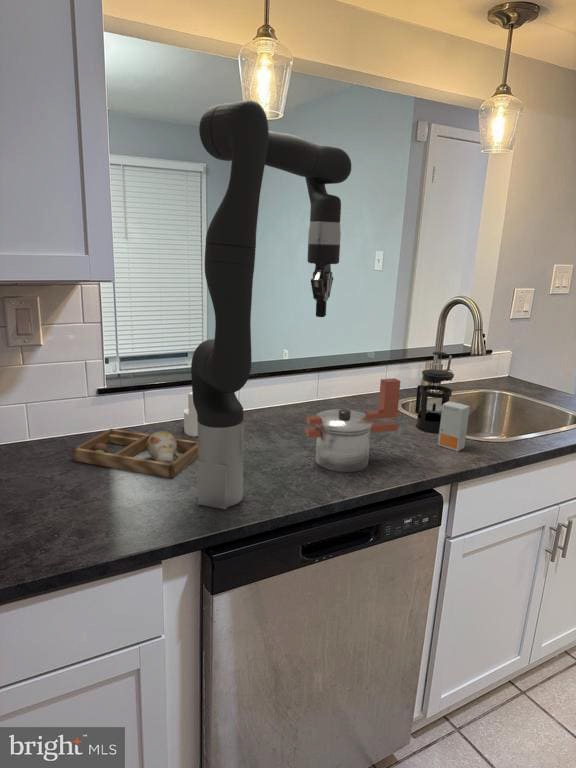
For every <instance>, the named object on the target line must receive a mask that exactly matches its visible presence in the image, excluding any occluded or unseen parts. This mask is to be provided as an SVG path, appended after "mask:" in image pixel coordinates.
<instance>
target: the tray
mask: <svg viewBox="0 0 576 768" xmlns="http://www.w3.org/2000/svg"><path fill="white" fill-rule="evenodd" d="M151 435H152V434H149V433H143V432H136V431H130V430H129V431H128V430H121V429H115V428H109V429H107V430H105V431H103V432H102V433H100V434H98V435H97V436H95V437H93V438H90V439H89V440H87V441H85V442H83V443H81V444H79V445H77V446H75V447H74V448H72V459H73V461H74V462H79V463H83V464H84V463H86V464H89V465H90V464H91V465H96V466H103V467H107V468H114V469H118V470H125V471H130V472H135V473H141V474H146V475H147V474H148V475H153V476H159V477H163V478H169V479H175V477H176V476H177V475H179V474H180V473H181V472H182V471H184V470H185V469H186V468H187V467H188V466H190V465H192V463H194V462H195V461H196V460H198V441H194V440H188V439H187V440H186V439H182V438H181V439H180V438H176V437H174V438H175V440H176V443H177V448H176V450H177V453H179V452H180V453H183V454H181V455H179V456H180V457H179V458H176V459H174V462H172V463H171V464H170V463H164V462H158V461H156V460H151V459H145V458H139V457H135V456H137V455H139V454H140V453H142V452H144V451H145V450H147V440H148V438H149V437H150V436H151ZM98 443H103V444H105V445H106V446H107V445H108V444H112V443H114V445H119V444H120V445H121V446H125V447H124V448H122V449H120V450H119V451H117V452H115V453H110V452H106V453H105V452H99V451H94V446H95V445H96V444H98Z"/></svg>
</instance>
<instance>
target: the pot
mask: <svg viewBox="0 0 576 768" xmlns="http://www.w3.org/2000/svg"><path fill="white" fill-rule="evenodd" d="M398 428H399V425H398V423H396V422H395V421H393V420H389V421H375V422H374V421H373V426H372V427H371V428H370V429H368V430H365V431H361V432H337V431H332V430H328V429H325V428H322V427H320V426H319V425H316V426H311V427H310V426H309V427H305V428H304V434H305V436H306V437H307V438H308V439H312V438H314V439H315V438H316V444H315V445H316V448H315V450H316V451H315V461H316V463H317V465H318V466H320V467H322V468H324V469H326V470H329V471H334V472H338V473H339V472H340V473H353V472H358V471H361V470H363V469H365V468H367V466H368V465H369V453H370V442H371V440H370V439H371V434H374V433H383V432H384V433H385V432H397V431H398Z"/></svg>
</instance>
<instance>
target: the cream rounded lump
mask: <svg viewBox="0 0 576 768" xmlns="http://www.w3.org/2000/svg"><path fill="white" fill-rule="evenodd" d="M150 435H151V436H150V437H149V438H148V440H147V448H146V451H147V453H148V455H150V457H151V458H152V459H153V460H154V461H158V462H164V463H170V464H171V463H172V462H174V461H175V458H176V459H177V458H179V457H180V456H181V455H180V453H179V452H178V451H177V450H176V448H177V443H176V440H175V438H176V437H175V436H174V435H173V434H172V433H170V432H168V431H166V430H165V431H164V430H160V431H155V432H154V433H152V434H150ZM174 457H175V458H174Z"/></svg>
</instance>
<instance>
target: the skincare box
mask: <svg viewBox="0 0 576 768" xmlns="http://www.w3.org/2000/svg"><path fill="white" fill-rule="evenodd" d="M470 409H471V406H470V405H466V404H462V403H459V402H454V401H451V400H449V402H446V403H444V404H443V405H442V413H441V422H440V430H439V433H438V438H437V439H438V440H437V446H440V447H443V448H445V449H449V450H453V451H455V452H459V451H461V450H463V449H464V448H465V446H466V439H467V430H468V421H469V416H470Z"/></svg>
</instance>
